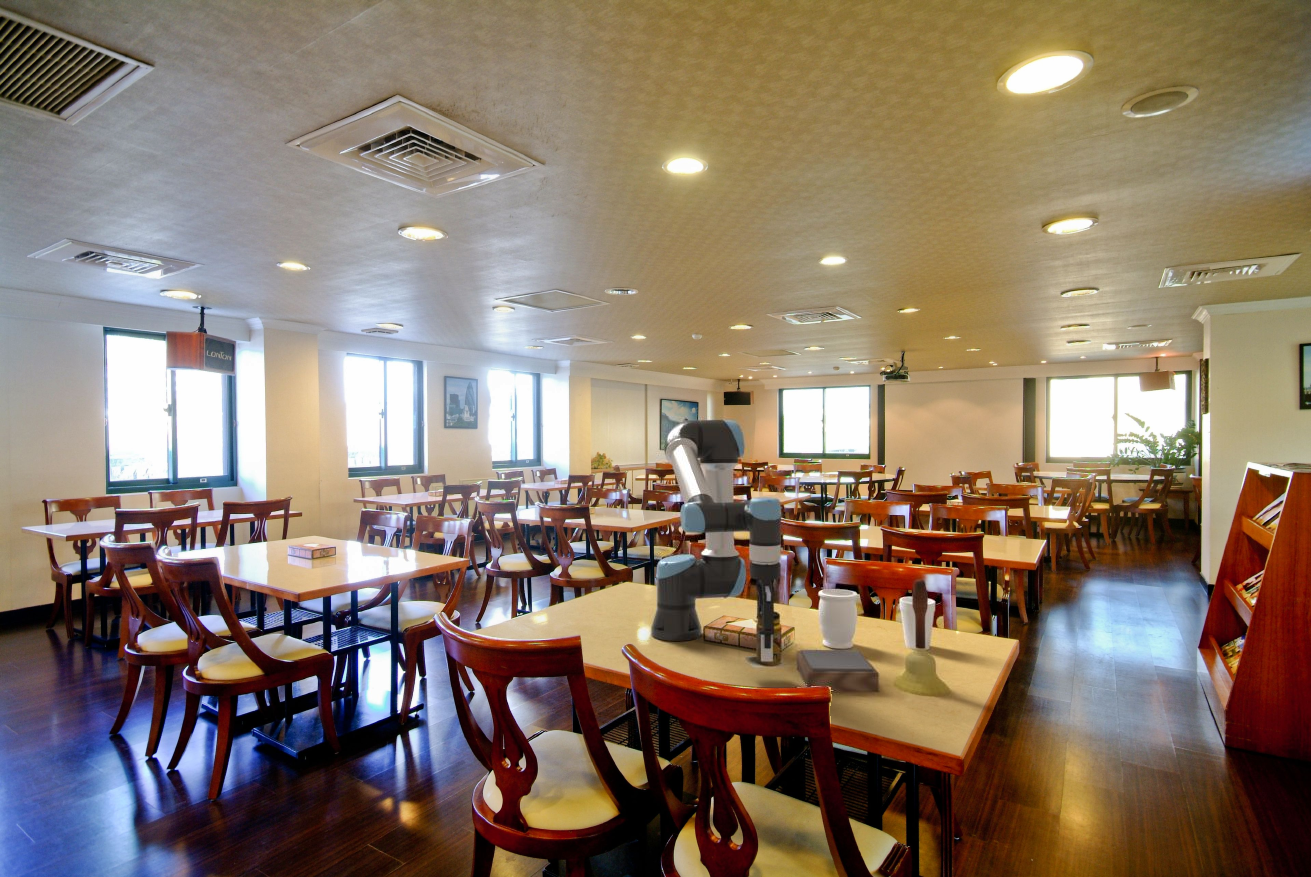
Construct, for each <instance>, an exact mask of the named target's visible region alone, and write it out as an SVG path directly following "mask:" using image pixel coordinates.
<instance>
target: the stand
mask: <svg viewBox="0 0 1311 877" xmlns="http://www.w3.org/2000/svg"><path fill="white" fill-rule="evenodd" d="M796 670H797V671H798V673H799V675H800V677H801V679H802V681H803V683H804V682H805V683H804V685H805V684H807V685H805V687H806V686H807V687H811V686H829V687H831V690H833V692H837V693H843V692H845V693H846V692H847V693H862V692H863V693H879V691H880V690H879V686H880V685H879V684H880V683H879V680H880V679H879V675H880V674H879V672H878V671H877V669H876V668H875V667H874V666H873V664H871V662H870V661H869V660H868V659H867V657H866V656H864V654H863V653H862V652H861V651H859V650H857V649H849V650H848V649H847V650H846V649H801V650H798V651H796ZM807 687H806V688H807Z"/></svg>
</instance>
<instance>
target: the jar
mask: <svg viewBox="0 0 1311 877" xmlns="http://www.w3.org/2000/svg"><path fill="white" fill-rule="evenodd" d="M818 596H819V598H820V599H819V602H818V621H819V626H820V632H821V634H822V637H823V638H824V639H823V640H822V643H821V644H822V645H823V646H825V647H827V648H830V649H834V650H846V649H847V650H848V649H851V648H853V647H854V642H853V641H852V640H853V638H854V636H855V633H856V628H857V621H858V609H857V603H856V599H857V597H858V593H857V592H856V591H853V590H848V589H840V588H827V589H822V590H819V591H818Z"/></svg>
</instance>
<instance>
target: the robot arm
mask: <svg viewBox="0 0 1311 877" xmlns="http://www.w3.org/2000/svg"><path fill="white" fill-rule="evenodd" d="M663 449H664V450H663V451H664V455H665V459H666V460H667V462H668V463H669V464H670V465H671V466H672V470H673V472H674V476H675V478H676V481H677V484H678V487H679V490H680V493H681V494H680V495H681V496H682V499H683V503H684V504H683V503H682V505H681V508H680V526H681V529H682V531H684V532H685V533H695V534H705V547H704V549H703V550H702V551H701V552H700V559H697V558H696V557H695V555H693V554H677V555H676V554H675V555H671V556H667V557H664V558H662V559H660V560H659V561H658V563H657V565H656V574H655V575H656V576H655V577H656V611H655V614H654V617H653V620H652V623H651V627H650V628H651V636H652V637H653V638H655V639H657V640H661V641H669V642H685V641H691V640H695V639H699V637H701V636H702V625H701V622H700V618H699V615H698V612H697V609H696V600H698V599H717V598H718V599H719V598H720V599H721V598H722V599H727V598H731V597H733V598H734V597H738V596H739V595H740V594H741V593H742V592H743V590H744V588H745V584H746V577H747V570H746V569H747V568H746V562H745V560H744V558H742V557H740V553H739V551H738V550H736V548H735V533H737V532H738V533H739V532H749V545H748V546H749V548H748V550H749V551H748V552H749V554H748V555H749V556H748V558H749V560H750V562H749V577H750V578H751V579H754V580H756V586H755V588H756V600H757V601H756V620H757V623H758V614H759V612H761V614H762V632H759V635H761V661H773V634H774V611H775V586H774V584H773V583H772V581H773V580H775V581H776V580H779V579H780V578H781V576H782V564H781V563H780V561H781V560H782V558H781V556H782V555H781V552H784V548H783V547H782V545H781V544H782V542H781V538H782V509H781V508H782V507H781V501H780V500H779V498H778V497H768V496H760V497H759V496H758V497H757V496H756V497H752V498H751V499H750V500H745V499H744V500H742V501H734V468H736V467H737V466H738V465H739V459H741V458H742V457H744V454H745V438H744V435H743V431H742V428H741V426H740V425H739V423H738V422H737V421H735V420H728V419H697V420H696V419H688V420H683V421H681V422H680V423H678V424H677V425H675V426H674V427H672V428H671V429H670V431H669V432H668V434H667V436H666V438H665V440H664V446H663ZM702 467H703V469H704V471H705V472H703V469H702Z"/></svg>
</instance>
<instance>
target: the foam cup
mask: <svg viewBox="0 0 1311 877" xmlns="http://www.w3.org/2000/svg"><path fill="white" fill-rule="evenodd" d="M899 609H900V616H901V622H902V624H901V625H902V629H903V630H902V631H903V637H904V643H905V647H906V648H907V649H911V650H915V647H916V638H915V613H914V610H913V605H912V596H903V597H900V598H899ZM935 612H936V601H935V600H934V599H932V598H928V608H927V612H926V615H925V648H926V651H928V650H929V649H930V646H931V638H932V630H933V624H934V616H935Z"/></svg>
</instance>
